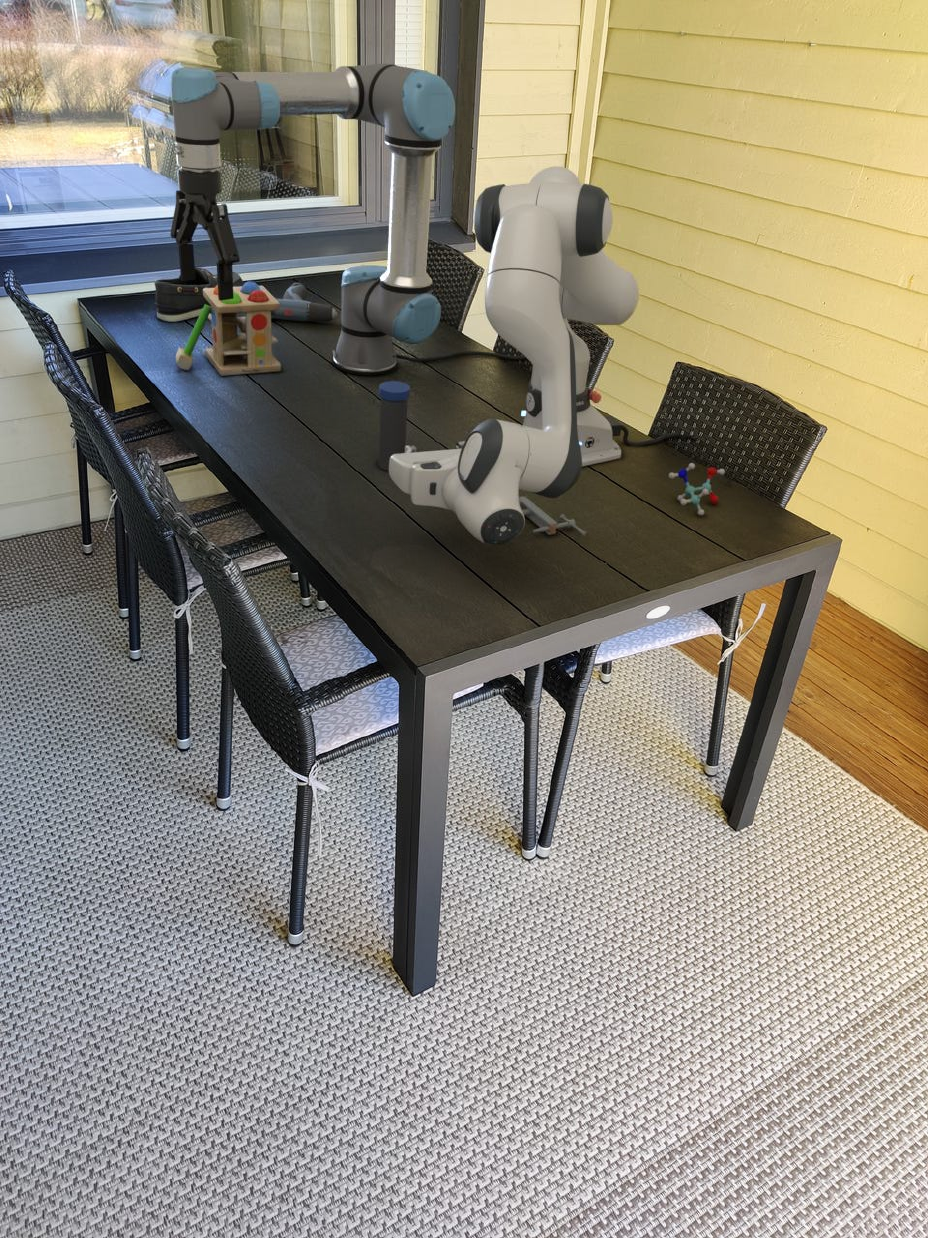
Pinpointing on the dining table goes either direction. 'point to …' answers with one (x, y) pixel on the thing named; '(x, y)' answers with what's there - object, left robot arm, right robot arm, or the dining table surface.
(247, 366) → the pounding bench toy
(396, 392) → the lid
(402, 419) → the jar
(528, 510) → the clamp
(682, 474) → the molecular model
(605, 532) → the dining table surface
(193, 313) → the boat shoe
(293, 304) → the power drill
